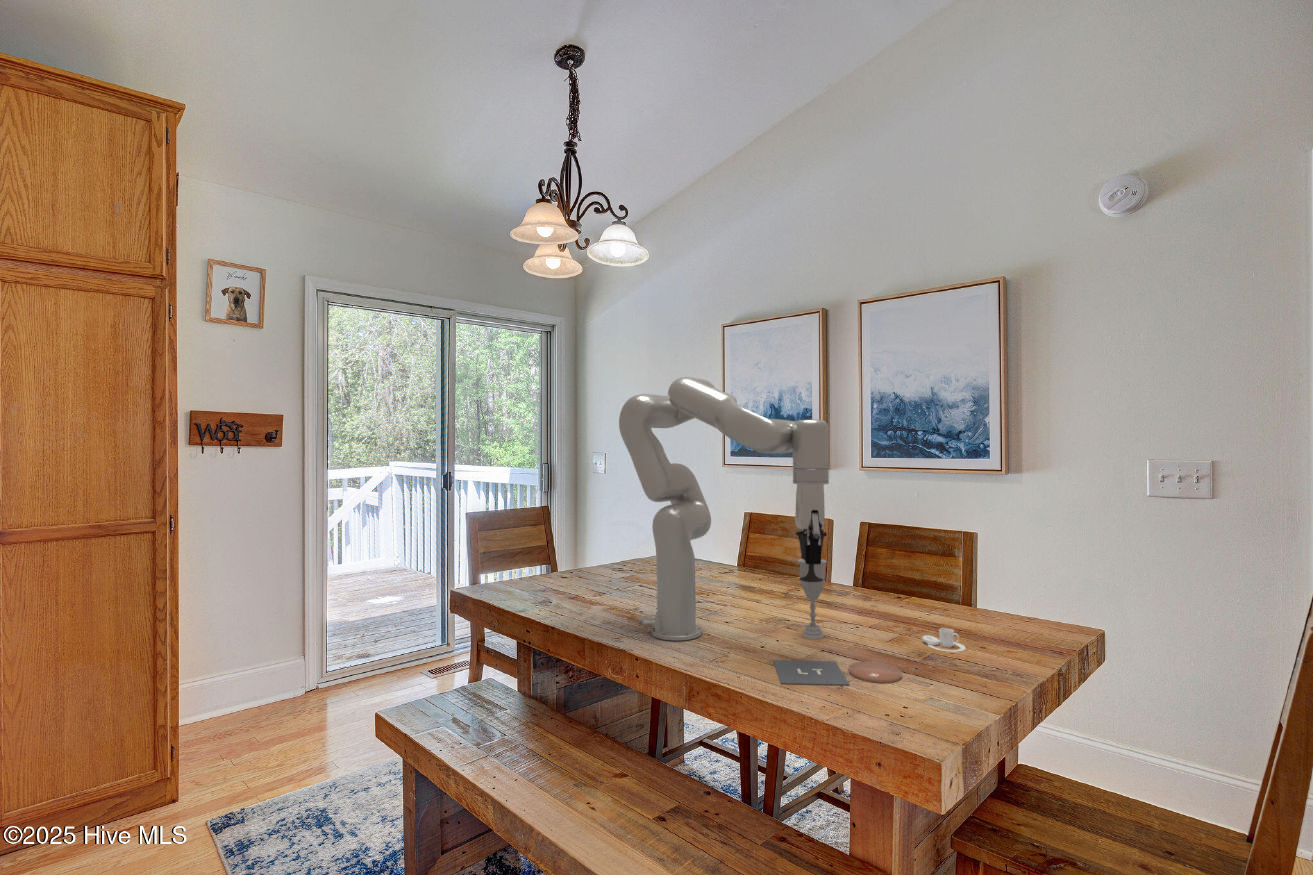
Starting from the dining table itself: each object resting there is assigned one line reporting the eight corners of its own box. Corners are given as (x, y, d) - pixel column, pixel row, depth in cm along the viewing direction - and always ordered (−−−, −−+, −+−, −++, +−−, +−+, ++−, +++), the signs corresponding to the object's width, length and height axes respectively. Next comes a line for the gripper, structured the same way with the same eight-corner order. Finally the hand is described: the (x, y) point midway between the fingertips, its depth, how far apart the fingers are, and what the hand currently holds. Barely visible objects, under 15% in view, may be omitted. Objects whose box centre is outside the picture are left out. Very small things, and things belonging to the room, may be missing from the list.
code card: (780, 684, 123) (780, 682, 123) (773, 660, 135) (773, 659, 135) (849, 685, 122) (849, 684, 122) (835, 662, 135) (835, 660, 135)
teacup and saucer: (916, 644, 147) (916, 626, 147) (942, 639, 150) (942, 622, 150) (947, 655, 139) (947, 637, 139) (973, 650, 142) (973, 632, 142)
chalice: (828, 640, 149) (827, 564, 149) (798, 639, 150) (798, 563, 150) (826, 631, 156) (825, 558, 156) (798, 630, 157) (797, 557, 158)
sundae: (791, 577, 140) (790, 508, 140) (821, 576, 140) (820, 508, 140) (800, 583, 133) (800, 511, 133) (831, 582, 134) (831, 511, 134)
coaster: (855, 682, 123) (855, 678, 123) (844, 664, 133) (844, 660, 133) (908, 683, 122) (908, 679, 122) (892, 665, 132) (892, 661, 132)
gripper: (787, 474, 145) (788, 554, 145) (798, 479, 129) (799, 569, 128) (821, 474, 145) (821, 554, 145) (836, 479, 128) (837, 569, 128)
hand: (810, 560), depth 137 cm, fingers closed on sundae, 4 cm apart
